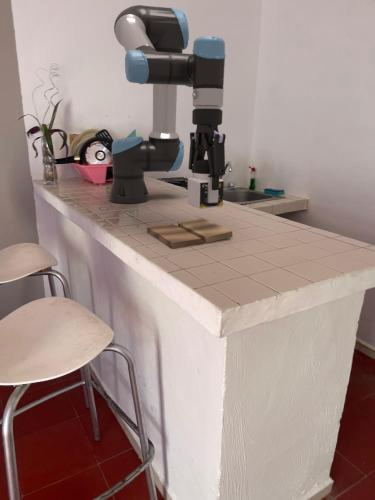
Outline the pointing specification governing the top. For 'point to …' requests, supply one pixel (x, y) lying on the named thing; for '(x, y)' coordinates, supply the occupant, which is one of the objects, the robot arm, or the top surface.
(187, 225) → the plank
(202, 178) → the medicine bottle
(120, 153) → the robot arm
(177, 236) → the laid board
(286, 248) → the top surface
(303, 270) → the top surface
